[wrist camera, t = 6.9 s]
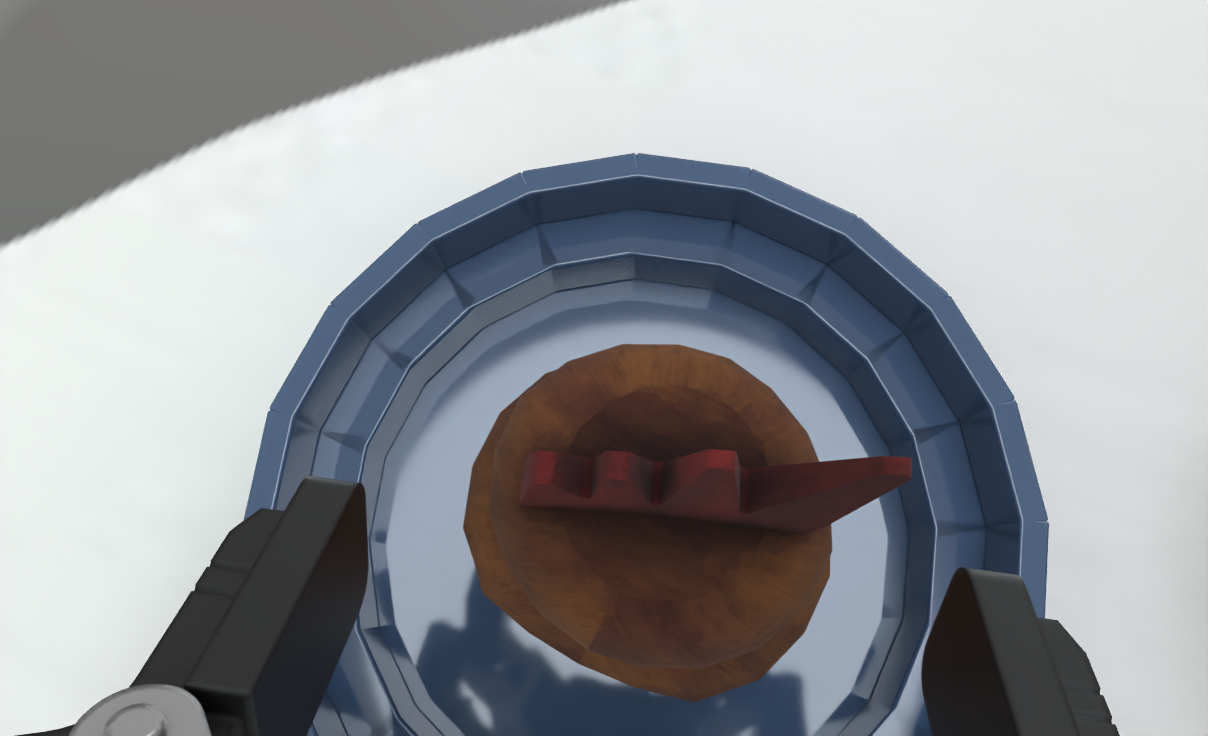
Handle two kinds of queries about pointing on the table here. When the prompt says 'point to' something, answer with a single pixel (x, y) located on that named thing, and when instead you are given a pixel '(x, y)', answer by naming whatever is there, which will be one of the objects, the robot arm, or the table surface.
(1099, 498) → the table surface
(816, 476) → the wooden figurine
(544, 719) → the bowl
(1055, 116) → the table surface
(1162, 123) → the table surface
